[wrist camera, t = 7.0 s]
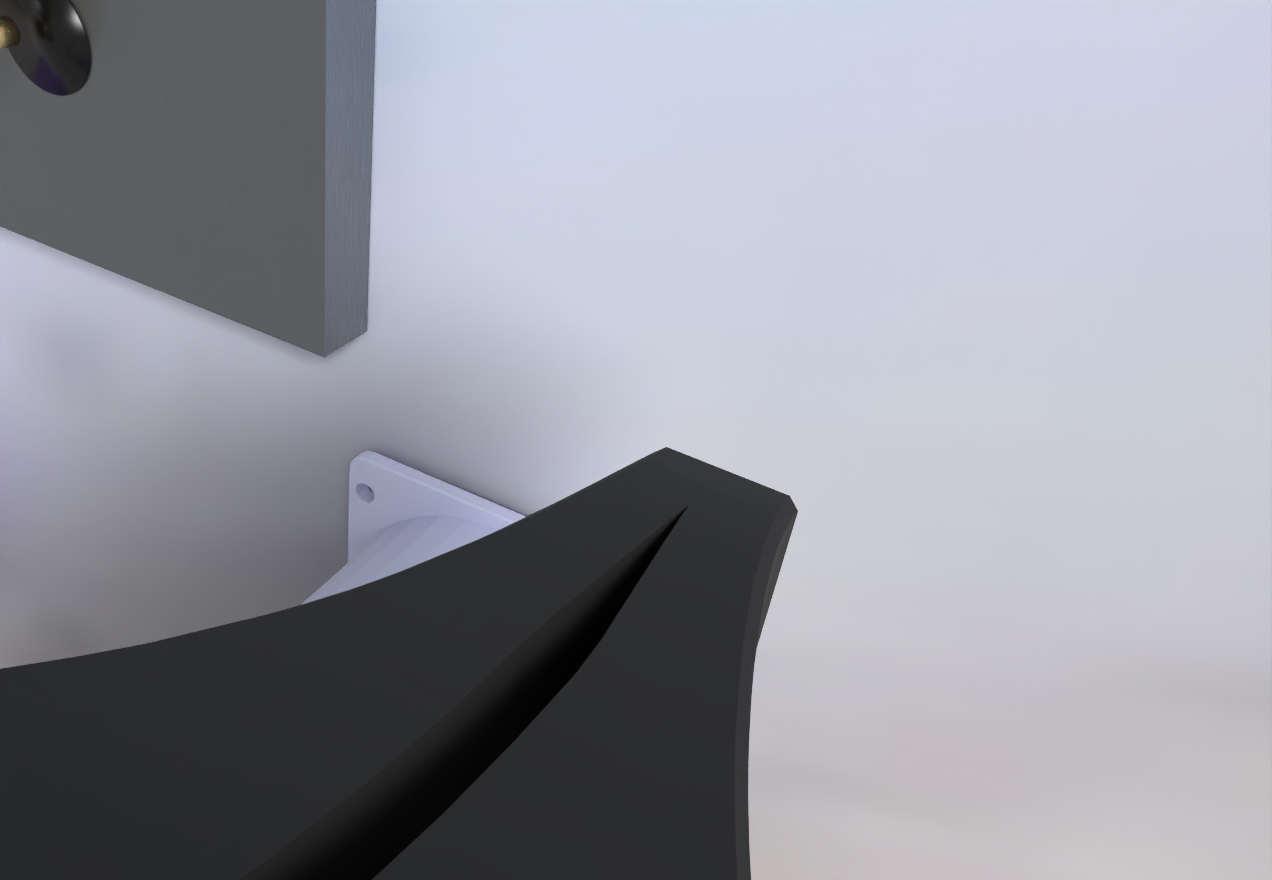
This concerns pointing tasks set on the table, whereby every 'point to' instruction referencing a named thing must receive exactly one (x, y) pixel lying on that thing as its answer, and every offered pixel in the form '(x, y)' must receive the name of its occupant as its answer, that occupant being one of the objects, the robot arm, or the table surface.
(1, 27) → the sliding block
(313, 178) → the bolt plate
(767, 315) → the table surface
